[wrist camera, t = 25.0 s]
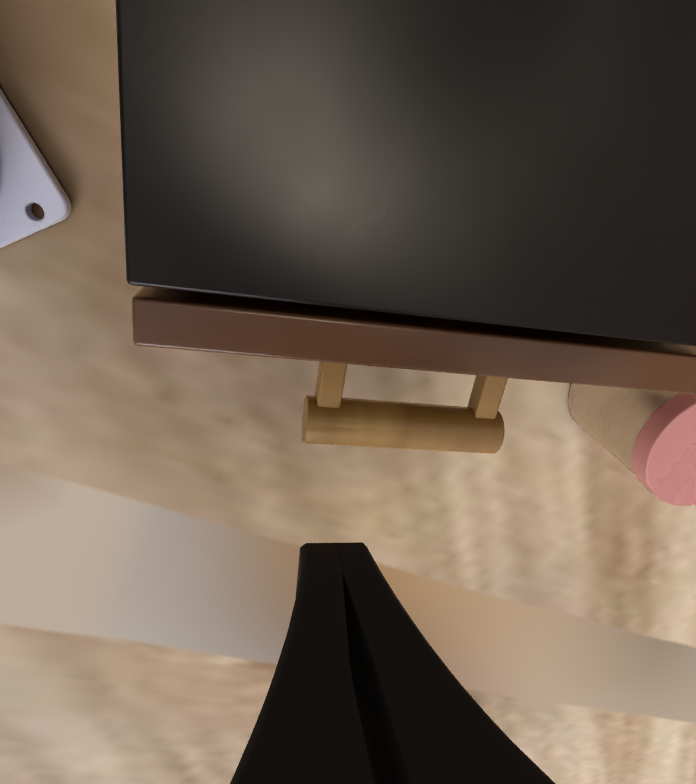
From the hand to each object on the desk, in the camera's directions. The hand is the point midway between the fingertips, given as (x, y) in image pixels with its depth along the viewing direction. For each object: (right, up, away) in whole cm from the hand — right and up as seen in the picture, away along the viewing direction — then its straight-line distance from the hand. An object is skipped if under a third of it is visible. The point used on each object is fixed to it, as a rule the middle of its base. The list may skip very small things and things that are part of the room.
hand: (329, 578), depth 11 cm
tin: (+12, +4, +11) cm, 17 cm away
